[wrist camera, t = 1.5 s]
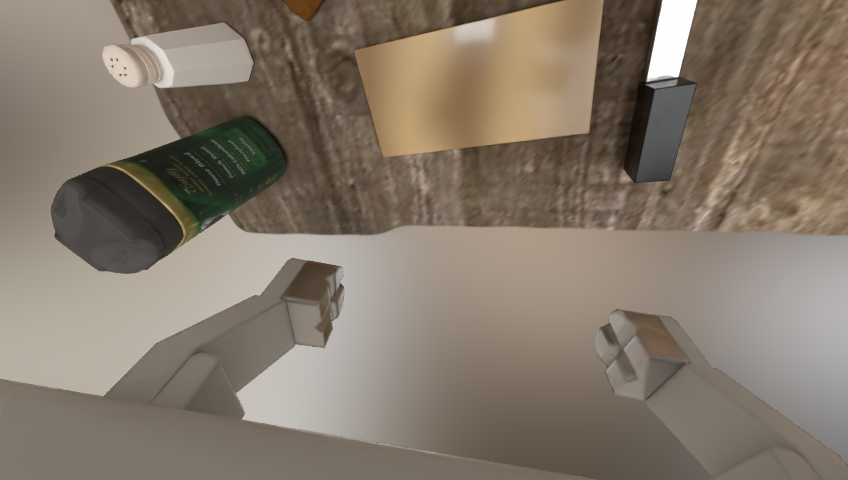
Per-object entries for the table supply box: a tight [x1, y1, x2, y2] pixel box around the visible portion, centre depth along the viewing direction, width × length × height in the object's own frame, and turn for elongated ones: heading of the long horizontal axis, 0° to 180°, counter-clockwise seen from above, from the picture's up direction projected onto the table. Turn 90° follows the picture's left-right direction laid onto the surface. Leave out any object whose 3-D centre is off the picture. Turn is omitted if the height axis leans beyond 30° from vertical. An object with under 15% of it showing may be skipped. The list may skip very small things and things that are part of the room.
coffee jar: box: [51, 118, 286, 274], centre depth 29 cm, size 10×8×19 cm
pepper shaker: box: [102, 23, 254, 88], centre depth 26 cm, size 5×5×11 cm
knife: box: [623, 0, 698, 183], centre depth 22 cm, size 18×3×3 cm, turn 11°
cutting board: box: [354, 0, 604, 157], centre depth 27 cm, size 20×10×1 cm, turn 101°
